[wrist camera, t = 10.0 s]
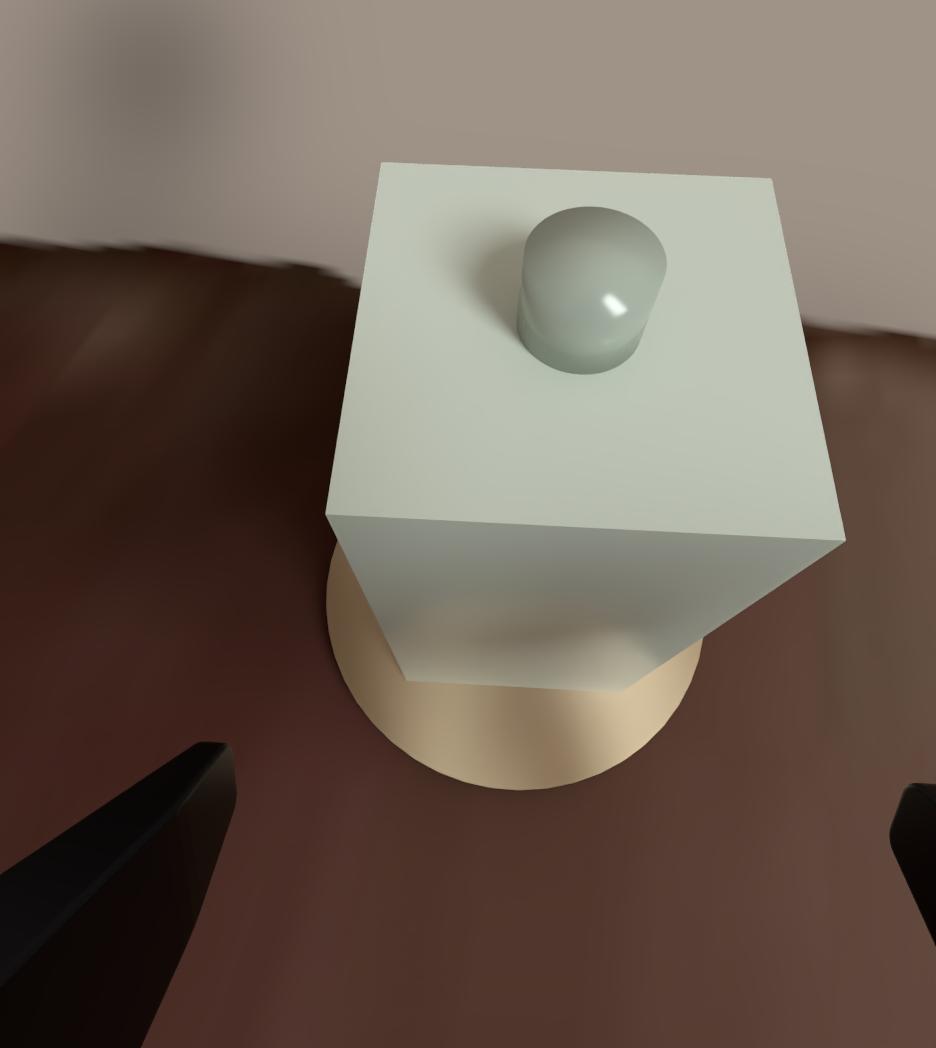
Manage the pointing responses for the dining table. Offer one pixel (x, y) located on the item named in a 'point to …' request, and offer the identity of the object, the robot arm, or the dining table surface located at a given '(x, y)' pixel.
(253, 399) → the dining table surface
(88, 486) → the dining table surface
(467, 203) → the cover
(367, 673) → the cork mat
